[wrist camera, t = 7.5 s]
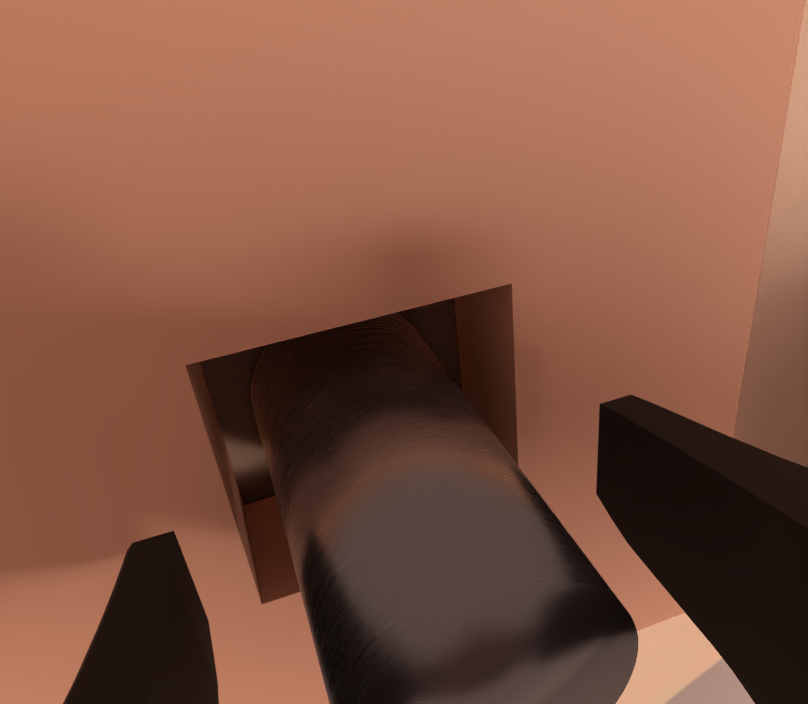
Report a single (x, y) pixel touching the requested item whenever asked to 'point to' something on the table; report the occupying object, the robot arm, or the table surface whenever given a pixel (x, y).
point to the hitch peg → (425, 535)
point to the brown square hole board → (353, 264)
